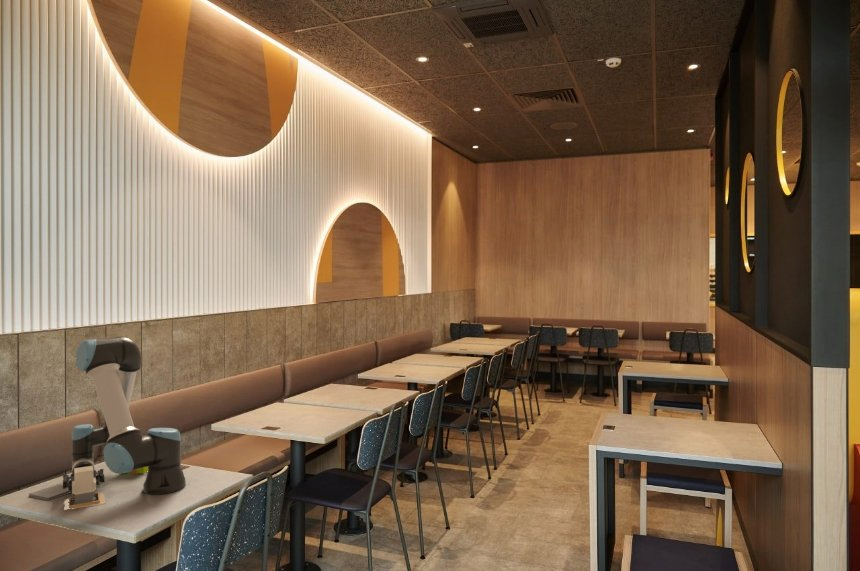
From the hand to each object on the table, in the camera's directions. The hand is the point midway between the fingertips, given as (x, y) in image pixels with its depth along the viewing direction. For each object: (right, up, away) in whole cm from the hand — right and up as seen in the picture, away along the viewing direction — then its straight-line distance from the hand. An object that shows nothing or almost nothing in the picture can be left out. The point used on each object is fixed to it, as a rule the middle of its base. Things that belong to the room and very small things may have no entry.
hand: (84, 488), depth 211 cm
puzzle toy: (0, -6, +40) cm, 41 cm away
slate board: (-20, -6, +13) cm, 24 cm away
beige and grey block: (-3, -6, +4) cm, 8 cm away
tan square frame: (-3, -6, +4) cm, 8 cm away
